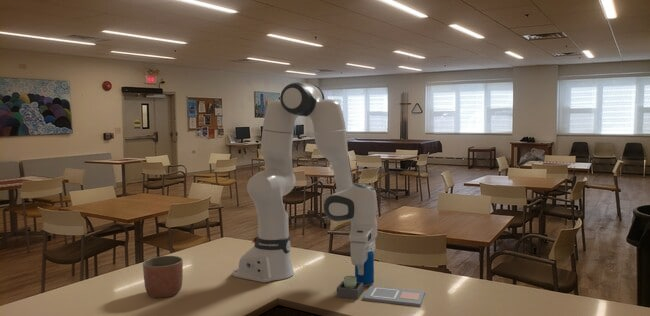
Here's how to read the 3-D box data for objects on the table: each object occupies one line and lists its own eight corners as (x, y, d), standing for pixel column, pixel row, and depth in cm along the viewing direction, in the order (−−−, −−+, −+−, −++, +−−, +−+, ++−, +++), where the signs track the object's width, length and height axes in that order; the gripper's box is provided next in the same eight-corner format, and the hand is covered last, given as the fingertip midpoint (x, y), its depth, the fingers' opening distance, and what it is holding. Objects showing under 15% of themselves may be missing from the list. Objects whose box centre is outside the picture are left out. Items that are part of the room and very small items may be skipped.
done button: (342, 289, 152) (342, 279, 152) (346, 285, 156) (345, 275, 156) (354, 291, 151) (354, 280, 151) (357, 286, 155) (357, 276, 155)
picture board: (362, 299, 149) (362, 297, 149) (370, 287, 159) (370, 285, 159) (420, 306, 143) (420, 303, 143) (425, 293, 154) (425, 290, 154)
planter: (191, 288, 161) (190, 257, 160) (167, 302, 149) (166, 268, 148) (160, 285, 165) (159, 254, 164) (135, 298, 153) (134, 264, 152)
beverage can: (372, 287, 160) (372, 252, 159) (353, 286, 161) (353, 251, 160) (374, 281, 166) (374, 247, 165) (356, 279, 167) (356, 246, 166)
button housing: (336, 296, 152) (336, 287, 151) (342, 289, 158) (342, 280, 158) (357, 299, 149) (357, 290, 149) (363, 291, 156) (363, 282, 156)
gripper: (362, 223, 173) (362, 261, 174) (347, 237, 154) (347, 279, 155) (379, 225, 171) (379, 262, 172) (366, 238, 152) (366, 281, 153)
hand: (364, 270), depth 163 cm, fingers open, 7 cm apart
